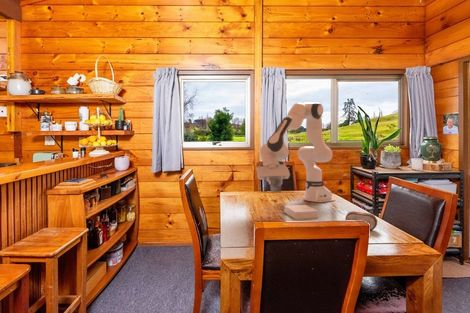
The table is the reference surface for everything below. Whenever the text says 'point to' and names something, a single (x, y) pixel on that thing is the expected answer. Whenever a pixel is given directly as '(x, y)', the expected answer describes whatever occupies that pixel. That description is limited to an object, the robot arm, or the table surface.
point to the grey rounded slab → (363, 218)
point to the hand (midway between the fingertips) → (276, 183)
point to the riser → (301, 211)
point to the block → (275, 185)
